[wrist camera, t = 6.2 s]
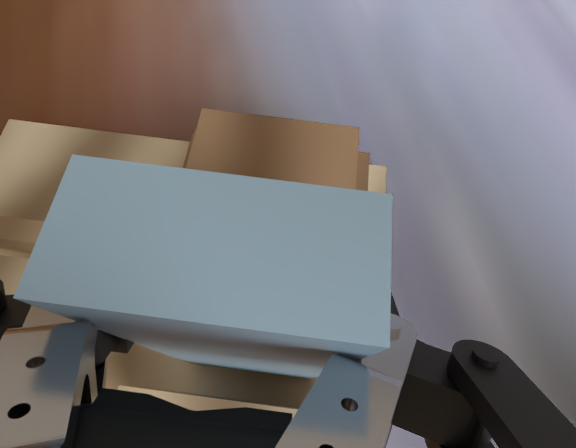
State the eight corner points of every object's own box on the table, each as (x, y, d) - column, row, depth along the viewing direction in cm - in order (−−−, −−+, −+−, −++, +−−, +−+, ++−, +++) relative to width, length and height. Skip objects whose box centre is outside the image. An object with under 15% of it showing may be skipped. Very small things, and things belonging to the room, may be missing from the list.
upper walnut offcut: (349, 158, 19) (359, 127, 17) (343, 232, 18) (354, 208, 16) (210, 141, 20) (202, 108, 17) (192, 213, 18) (180, 186, 16)
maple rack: (381, 177, 23) (402, 134, 20) (371, 466, 17) (399, 488, 14) (21, 131, 24) (-28, 81, 20) (-110, 400, 18) (-216, 402, 14)
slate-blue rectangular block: (316, 323, 18) (392, 194, 7) (310, 379, 17) (390, 347, 6) (201, 308, 19) (71, 154, 7) (189, 363, 18) (12, 298, 6)
